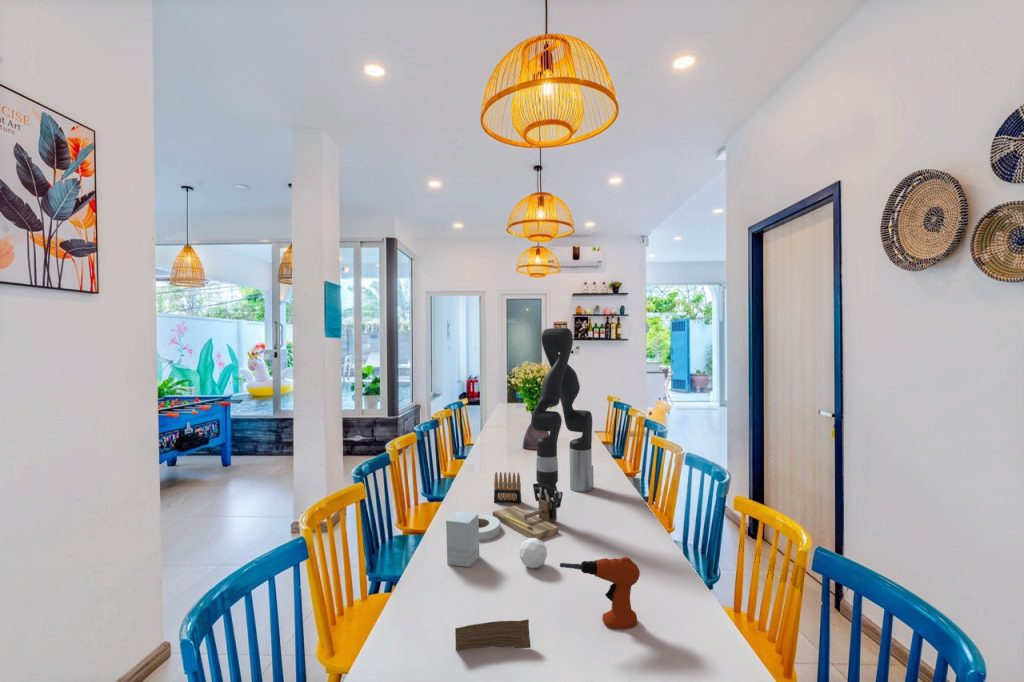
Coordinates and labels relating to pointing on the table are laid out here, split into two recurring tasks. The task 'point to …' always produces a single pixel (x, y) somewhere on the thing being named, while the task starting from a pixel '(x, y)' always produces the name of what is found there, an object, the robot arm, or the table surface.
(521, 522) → the pencil
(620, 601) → the toy drill
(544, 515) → the block on a post
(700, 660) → the table surface
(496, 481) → the ammunition clip
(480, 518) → the roll of tape
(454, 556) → the supplement box
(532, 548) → the ball
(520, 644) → the wood plank
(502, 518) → the board
